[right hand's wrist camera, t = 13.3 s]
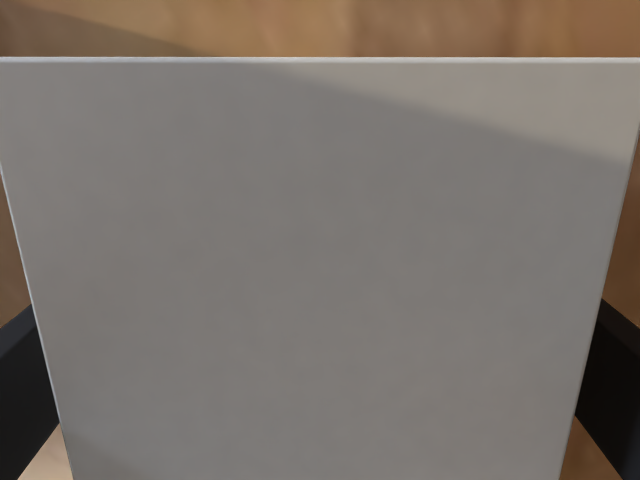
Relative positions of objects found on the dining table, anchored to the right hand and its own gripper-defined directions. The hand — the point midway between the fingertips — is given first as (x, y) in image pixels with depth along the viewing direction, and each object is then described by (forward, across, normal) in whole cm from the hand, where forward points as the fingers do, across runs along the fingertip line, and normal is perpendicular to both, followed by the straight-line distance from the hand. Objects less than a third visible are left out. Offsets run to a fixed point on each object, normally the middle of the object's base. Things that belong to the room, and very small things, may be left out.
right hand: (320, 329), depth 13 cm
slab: (+3, 0, -24) cm, 24 cm away
